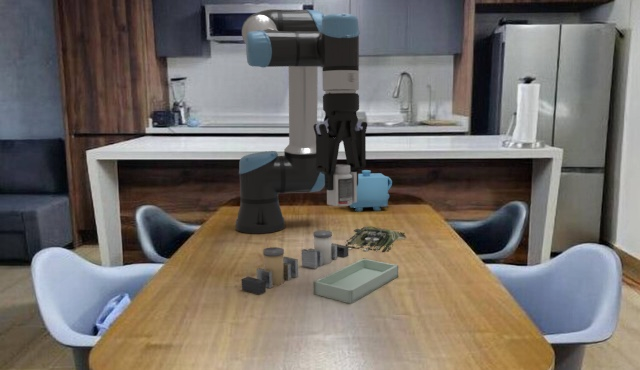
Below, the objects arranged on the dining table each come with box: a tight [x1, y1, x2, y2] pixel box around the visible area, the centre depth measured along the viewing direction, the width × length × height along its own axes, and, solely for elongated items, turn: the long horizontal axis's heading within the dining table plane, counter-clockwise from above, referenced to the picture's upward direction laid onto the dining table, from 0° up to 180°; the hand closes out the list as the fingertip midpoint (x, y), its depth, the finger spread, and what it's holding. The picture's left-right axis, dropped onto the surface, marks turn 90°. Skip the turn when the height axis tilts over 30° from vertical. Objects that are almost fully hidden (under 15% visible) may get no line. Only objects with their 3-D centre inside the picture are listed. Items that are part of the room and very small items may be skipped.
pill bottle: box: [335, 164, 352, 207], centre depth 114 cm, size 5×5×8 cm
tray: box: [313, 258, 399, 304], centre depth 115 cm, size 9×19×3 cm, turn 143°
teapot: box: [349, 169, 393, 213], centre depth 190 cm, size 22×11×14 cm, turn 96°
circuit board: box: [345, 226, 407, 253], centre depth 151 cm, size 25×18×4 cm
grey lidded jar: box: [312, 229, 333, 265], centre depth 131 cm, size 4×4×7 cm
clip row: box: [241, 242, 349, 296], centre depth 125 cm, size 5×33×4 cm, turn 143°
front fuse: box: [262, 246, 285, 287], centre depth 117 cm, size 4×4×7 cm
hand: (342, 203), depth 114 cm, fingers closed on pill bottle, 5 cm apart
